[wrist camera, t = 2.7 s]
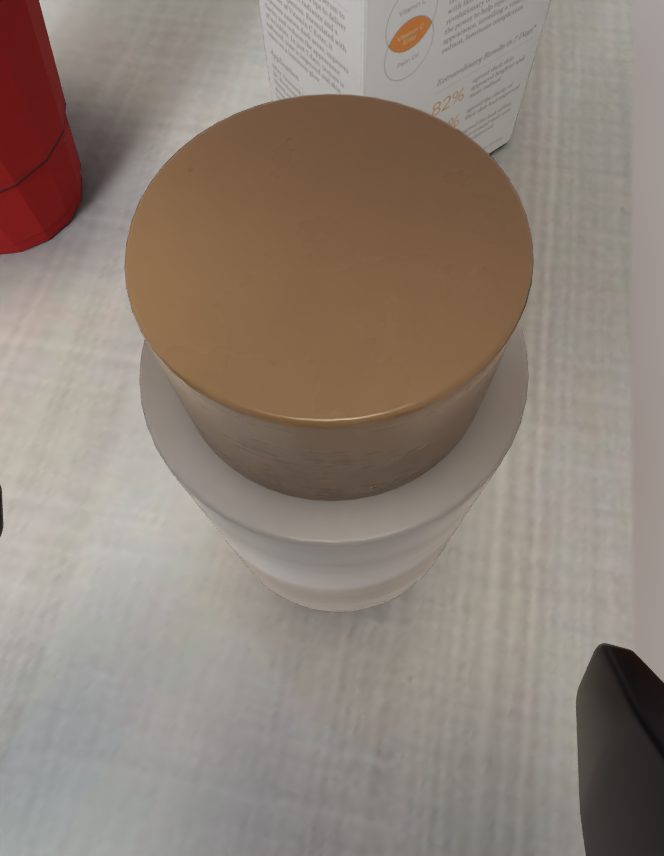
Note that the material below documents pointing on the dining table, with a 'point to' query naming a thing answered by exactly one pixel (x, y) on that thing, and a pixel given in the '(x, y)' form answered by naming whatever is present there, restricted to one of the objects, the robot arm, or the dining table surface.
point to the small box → (410, 55)
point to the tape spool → (332, 336)
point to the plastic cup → (33, 134)
